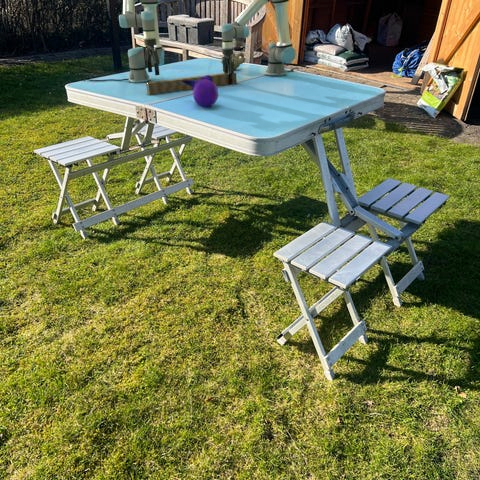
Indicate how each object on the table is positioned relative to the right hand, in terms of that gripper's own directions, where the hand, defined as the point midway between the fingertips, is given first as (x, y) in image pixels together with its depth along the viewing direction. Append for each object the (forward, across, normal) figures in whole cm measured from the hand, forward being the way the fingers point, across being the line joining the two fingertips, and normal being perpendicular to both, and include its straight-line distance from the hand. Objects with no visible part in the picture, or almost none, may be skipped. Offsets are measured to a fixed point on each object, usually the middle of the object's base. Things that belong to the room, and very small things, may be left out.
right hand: (228, 83), depth 324 cm
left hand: (-12, 0, +56) cm, 57 cm away
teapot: (+1, +47, -29) cm, 56 cm away
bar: (+1, 0, +28) cm, 28 cm away
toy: (+1, -46, +43) cm, 63 cm away
